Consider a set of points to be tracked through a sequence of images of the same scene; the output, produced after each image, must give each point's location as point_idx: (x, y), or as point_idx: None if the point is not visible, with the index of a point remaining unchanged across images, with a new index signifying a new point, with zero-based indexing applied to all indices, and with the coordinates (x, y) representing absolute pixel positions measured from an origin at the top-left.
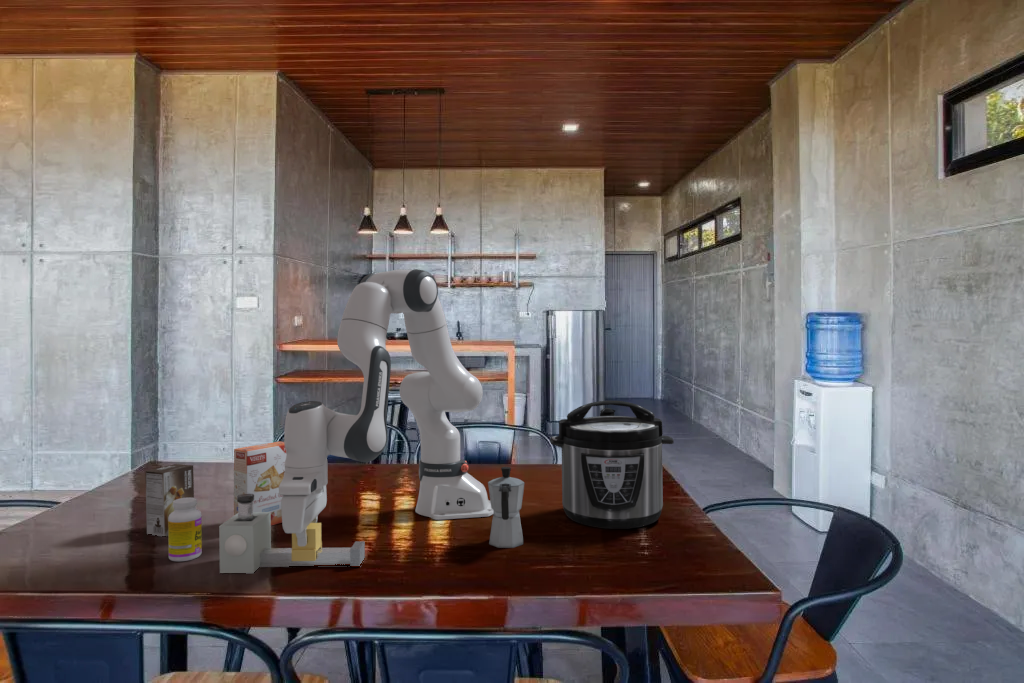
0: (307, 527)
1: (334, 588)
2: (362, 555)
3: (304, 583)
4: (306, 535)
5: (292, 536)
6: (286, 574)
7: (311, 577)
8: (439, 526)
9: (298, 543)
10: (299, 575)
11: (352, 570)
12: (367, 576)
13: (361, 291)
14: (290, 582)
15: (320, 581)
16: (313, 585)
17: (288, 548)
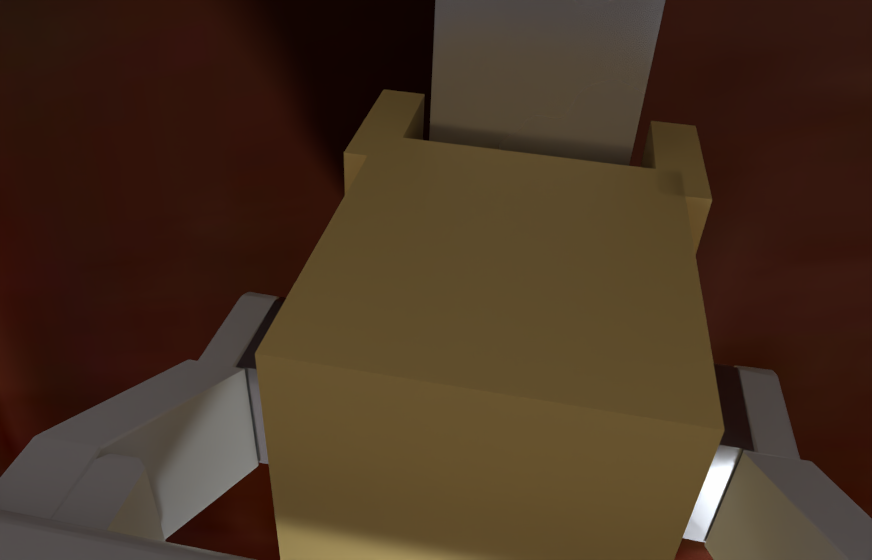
0: (372, 557)
1: (45, 411)
2: None
3: (74, 232)
4: (215, 486)
5: (306, 272)
6: (244, 35)
7: (199, 267)
8: None
9: (235, 316)
10: (231, 167)
11: None
12: (253, 555)
13: None
14: (67, 117)
15: (134, 332)
16: (56, 295)
17: (643, 23)
